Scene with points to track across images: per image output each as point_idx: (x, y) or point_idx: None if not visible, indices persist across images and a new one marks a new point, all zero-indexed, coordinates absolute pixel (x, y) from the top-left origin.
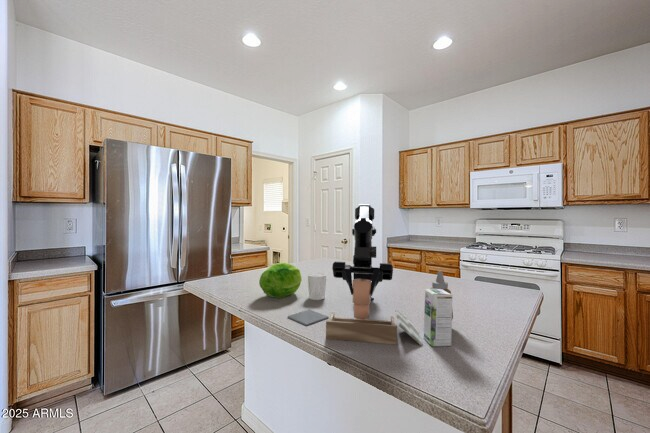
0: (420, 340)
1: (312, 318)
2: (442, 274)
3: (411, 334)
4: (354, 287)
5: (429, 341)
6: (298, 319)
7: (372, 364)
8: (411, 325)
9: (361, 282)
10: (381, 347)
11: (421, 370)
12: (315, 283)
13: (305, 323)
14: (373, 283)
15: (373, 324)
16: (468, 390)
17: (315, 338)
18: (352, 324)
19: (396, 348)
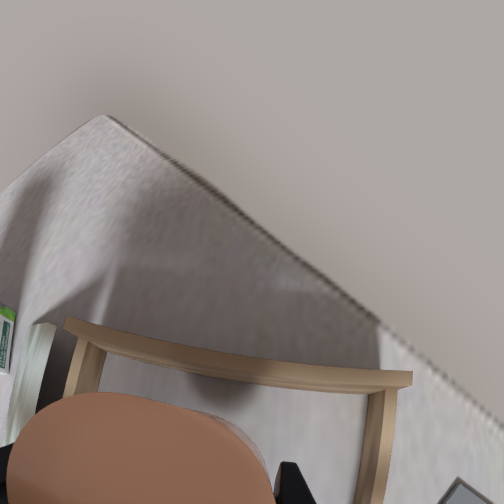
0: (25, 343)
1: None
2: None
3: (38, 324)
4: (260, 467)
5: (9, 325)
6: None
7: (221, 217)
8: (8, 434)
9: (141, 418)
10: (161, 319)
11: (107, 200)
12: None
13: (464, 489)
14: (3, 461)
15: (161, 345)
16: (71, 155)
17: (417, 380)
18: (274, 362)
19: (113, 310)
